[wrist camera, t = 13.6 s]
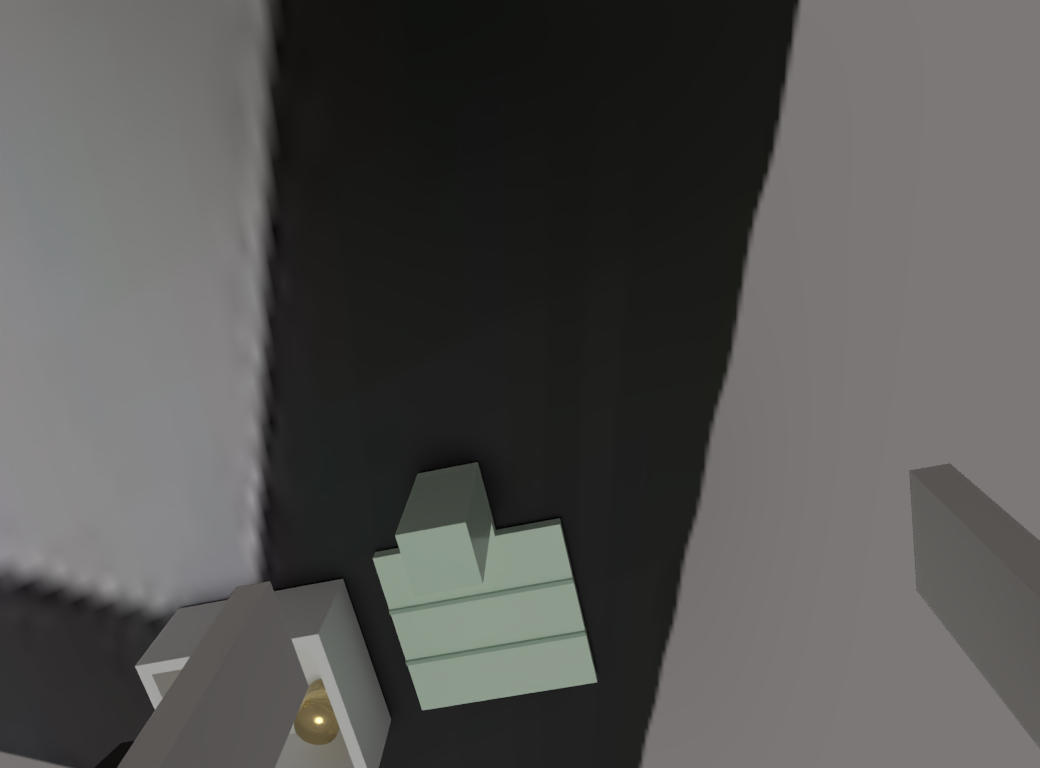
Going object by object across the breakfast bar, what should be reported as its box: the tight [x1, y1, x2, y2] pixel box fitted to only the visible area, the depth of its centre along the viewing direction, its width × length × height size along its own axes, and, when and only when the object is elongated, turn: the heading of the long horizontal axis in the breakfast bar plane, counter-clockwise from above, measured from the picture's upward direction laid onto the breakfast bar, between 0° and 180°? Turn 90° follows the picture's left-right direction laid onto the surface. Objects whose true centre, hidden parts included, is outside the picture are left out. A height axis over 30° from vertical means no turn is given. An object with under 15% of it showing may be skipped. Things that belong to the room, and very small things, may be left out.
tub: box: [135, 579, 391, 768], centre depth 52 cm, size 12×12×6 cm
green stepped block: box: [373, 462, 597, 710], centre depth 49 cm, size 18×13×8 cm
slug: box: [294, 679, 340, 745], centre depth 54 cm, size 3×3×3 cm
